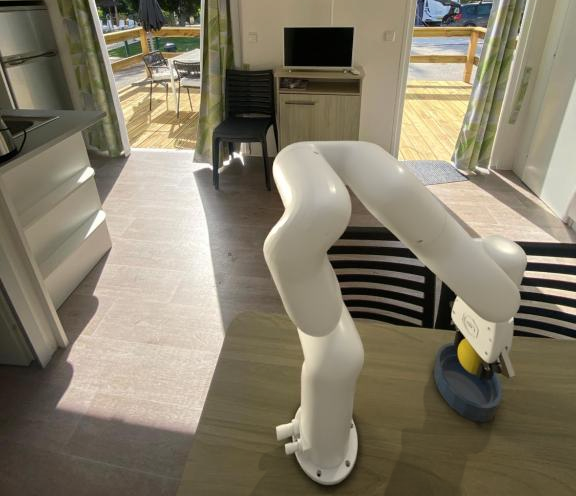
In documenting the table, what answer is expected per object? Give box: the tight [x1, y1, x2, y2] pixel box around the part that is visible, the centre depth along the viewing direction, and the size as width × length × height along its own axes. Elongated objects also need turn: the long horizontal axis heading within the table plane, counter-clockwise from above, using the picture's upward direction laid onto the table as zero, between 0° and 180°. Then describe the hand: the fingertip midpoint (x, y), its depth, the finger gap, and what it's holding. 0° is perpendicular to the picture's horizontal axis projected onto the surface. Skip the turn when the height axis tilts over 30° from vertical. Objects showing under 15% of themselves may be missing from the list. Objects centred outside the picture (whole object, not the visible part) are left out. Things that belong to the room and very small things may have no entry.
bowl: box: [433, 342, 503, 423], centre depth 65 cm, size 12×12×5 cm
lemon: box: [458, 338, 483, 375], centre depth 62 cm, size 6×6×8 cm
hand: (471, 359), depth 63 cm, fingers closed on lemon, 5 cm apart
